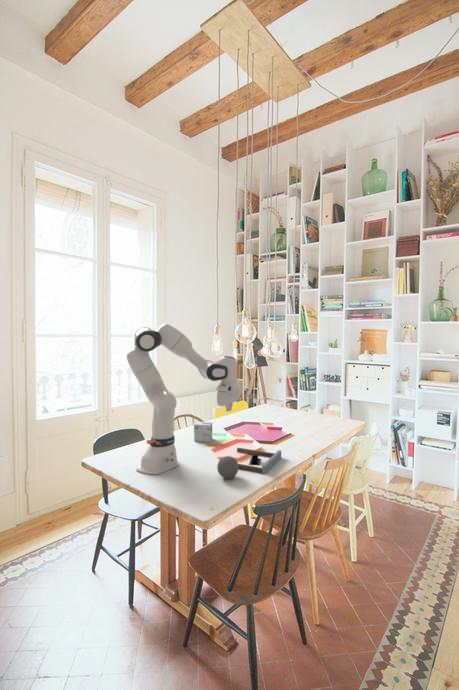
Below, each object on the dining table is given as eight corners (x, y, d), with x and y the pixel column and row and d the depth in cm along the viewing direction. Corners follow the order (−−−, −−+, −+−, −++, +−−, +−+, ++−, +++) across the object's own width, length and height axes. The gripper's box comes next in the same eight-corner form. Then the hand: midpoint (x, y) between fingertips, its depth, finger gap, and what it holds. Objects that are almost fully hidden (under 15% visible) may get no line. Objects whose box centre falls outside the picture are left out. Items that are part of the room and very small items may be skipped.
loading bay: (265, 474, 176) (265, 466, 176) (218, 465, 188) (218, 457, 187) (281, 457, 198) (281, 450, 197) (238, 450, 209) (238, 443, 209)
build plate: (260, 468, 186) (260, 459, 185) (246, 467, 187) (246, 458, 187) (263, 458, 198) (263, 450, 197) (249, 458, 199) (249, 449, 199)
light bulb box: (212, 438, 232) (212, 421, 231) (211, 442, 225) (210, 424, 224) (196, 438, 233) (195, 421, 232) (193, 441, 226) (193, 424, 225)
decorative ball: (241, 480, 170) (241, 459, 169) (221, 483, 167) (221, 462, 166) (234, 472, 179) (233, 452, 179) (214, 475, 176) (214, 454, 175)
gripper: (232, 382, 209) (232, 406, 210) (214, 388, 191) (214, 414, 192) (242, 383, 206) (242, 407, 207) (225, 389, 188) (225, 415, 189)
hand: (228, 411), depth 199 cm, fingers closed
